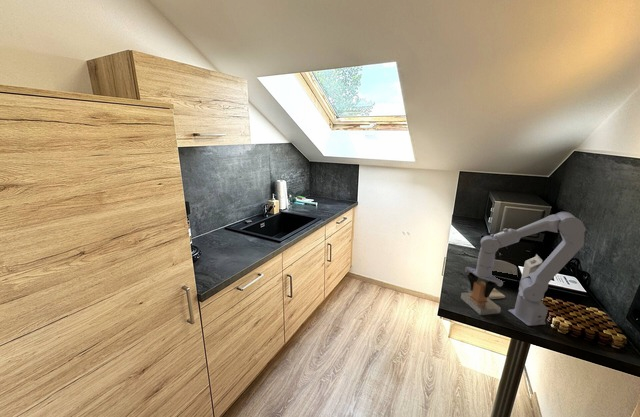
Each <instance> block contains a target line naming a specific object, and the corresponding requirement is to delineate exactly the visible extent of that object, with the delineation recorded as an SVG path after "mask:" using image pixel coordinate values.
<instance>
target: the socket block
mask: <svg viewBox="0 0 640 417" xmlns="http://www.w3.org/2000/svg"><path fill="white" fill-rule="evenodd" d="M471 296H472V292H471V291H470V292H468V291H467V292H461V295H460V299H461V300H462V301H463V302H464V303H466V304H467V305H468V306H469V307H470V308H471V309H473V311H475V312H476V313H477V315H480V316H485V315H486V316H487V315H495V314H501V309H502V307H501V306H499V305H498V304H497V303H495V302H494V301H493V300H492V299H489V298H487V301H486V302H480V303H477V302H476V301H475V300H474V299H473V298H471Z"/></svg>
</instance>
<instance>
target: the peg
mask: <svg viewBox="0 0 640 417" xmlns="http://www.w3.org/2000/svg"><path fill="white" fill-rule="evenodd" d="M486 283H487V282H484V281H483V280H479V281H478V280H477V282H474V285H473V291H472V296H471V298H473V299H474V300H475V301H476V302H477V303H480V302H486V301H487V298H486V297H485V292H486Z"/></svg>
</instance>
